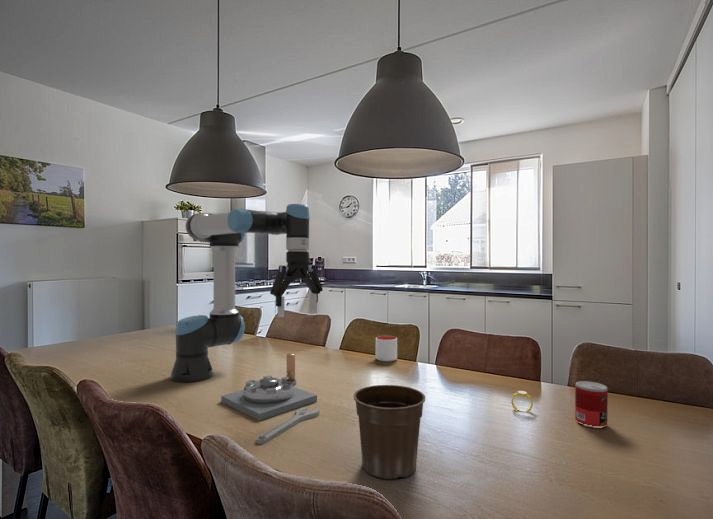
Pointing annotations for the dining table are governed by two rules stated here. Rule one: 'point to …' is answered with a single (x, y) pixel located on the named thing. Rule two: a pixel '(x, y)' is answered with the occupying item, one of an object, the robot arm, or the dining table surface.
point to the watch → (522, 395)
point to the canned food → (591, 403)
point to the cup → (386, 348)
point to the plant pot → (389, 429)
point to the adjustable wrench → (288, 424)
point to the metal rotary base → (272, 386)
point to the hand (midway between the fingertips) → (297, 314)
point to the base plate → (268, 410)
